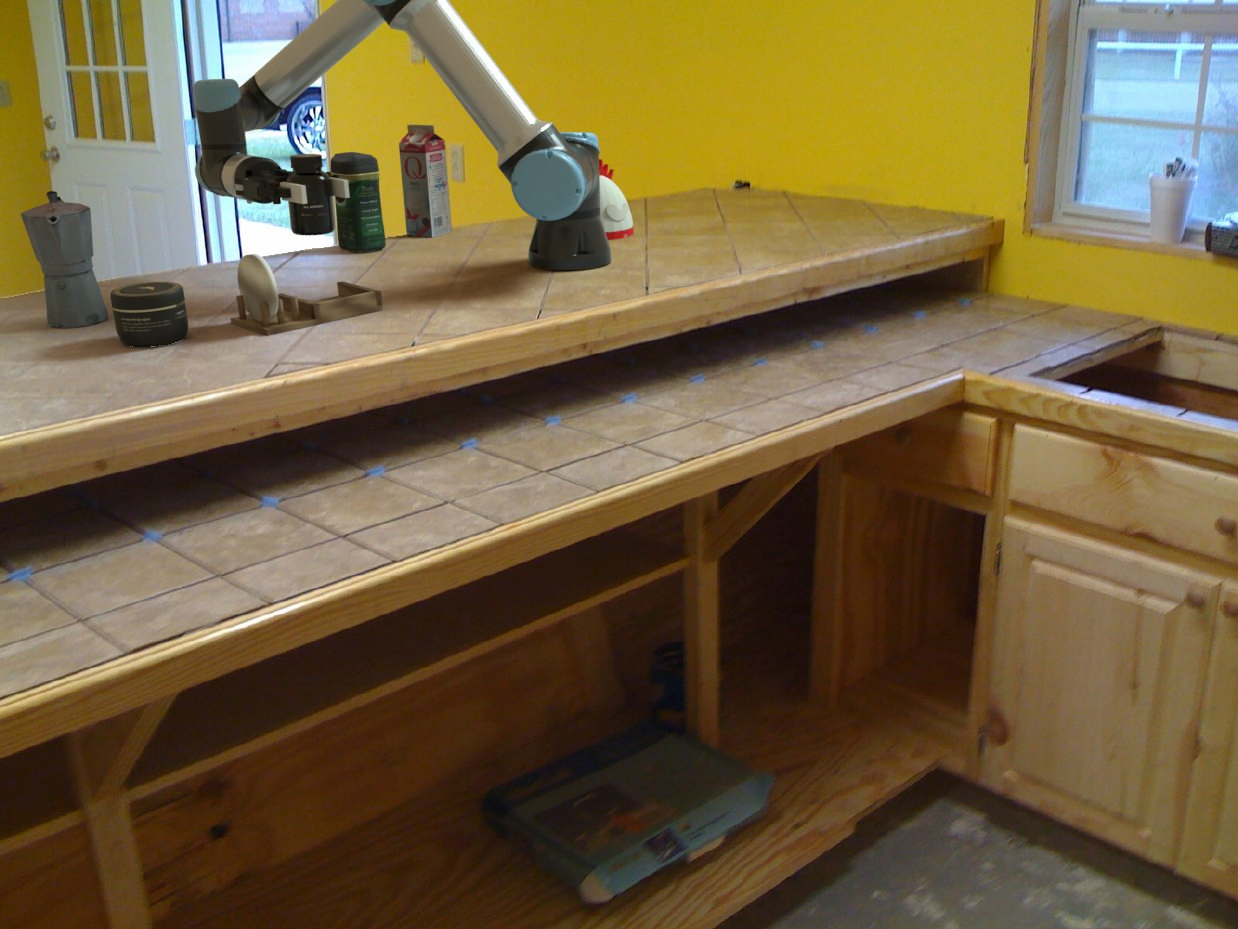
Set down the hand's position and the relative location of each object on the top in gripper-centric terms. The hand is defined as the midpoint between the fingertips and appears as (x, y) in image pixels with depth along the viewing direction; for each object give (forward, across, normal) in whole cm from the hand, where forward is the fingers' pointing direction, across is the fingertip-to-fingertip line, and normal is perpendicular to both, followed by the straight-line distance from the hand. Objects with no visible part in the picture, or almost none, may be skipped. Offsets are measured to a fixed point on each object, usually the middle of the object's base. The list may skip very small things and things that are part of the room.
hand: (325, 191), depth 184 cm
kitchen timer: (-14, -69, -18) cm, 73 cm away
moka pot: (-22, +33, -18) cm, 44 cm away
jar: (-1, +30, -18) cm, 35 cm away
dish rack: (+3, +7, -18) cm, 20 cm away
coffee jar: (-38, -28, -18) cm, 51 cm away
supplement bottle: (-5, 0, -7) cm, 9 cm away
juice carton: (-41, -47, -18) cm, 65 cm away
